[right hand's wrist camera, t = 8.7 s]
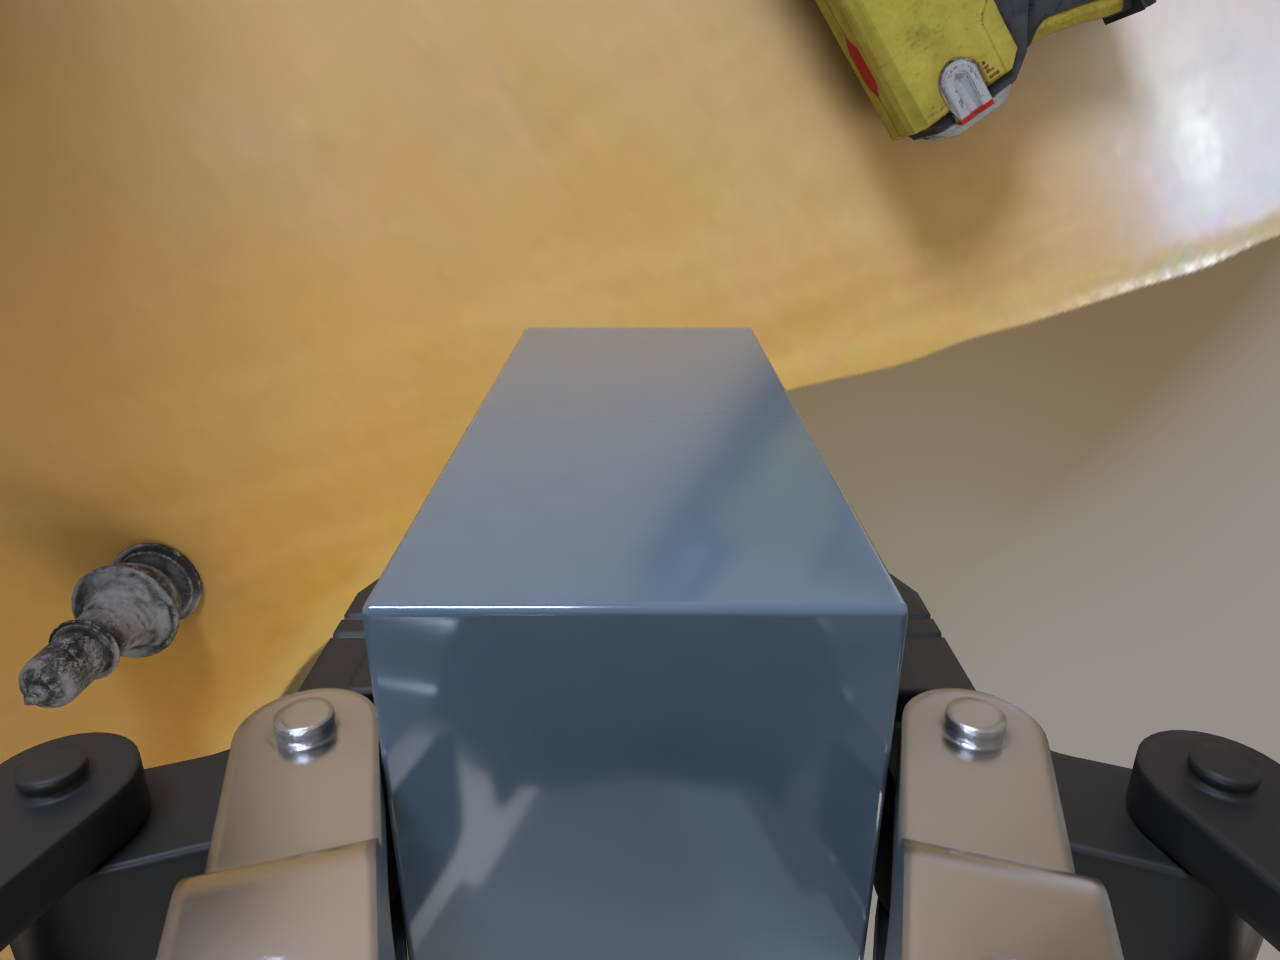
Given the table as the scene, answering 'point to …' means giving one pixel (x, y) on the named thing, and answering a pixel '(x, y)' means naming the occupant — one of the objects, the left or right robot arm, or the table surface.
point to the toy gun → (949, 53)
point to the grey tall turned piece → (113, 622)
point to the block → (636, 667)
